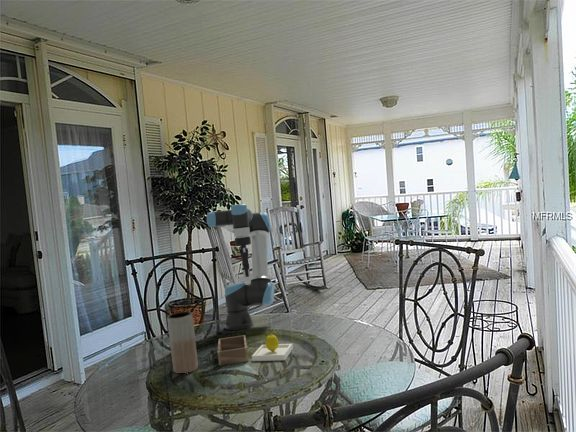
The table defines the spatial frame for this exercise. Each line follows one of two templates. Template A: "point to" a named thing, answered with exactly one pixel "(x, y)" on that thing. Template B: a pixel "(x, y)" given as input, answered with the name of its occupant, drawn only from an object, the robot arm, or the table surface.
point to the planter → (182, 342)
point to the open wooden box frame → (232, 350)
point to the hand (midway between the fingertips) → (247, 281)
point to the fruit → (271, 342)
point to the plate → (272, 353)
